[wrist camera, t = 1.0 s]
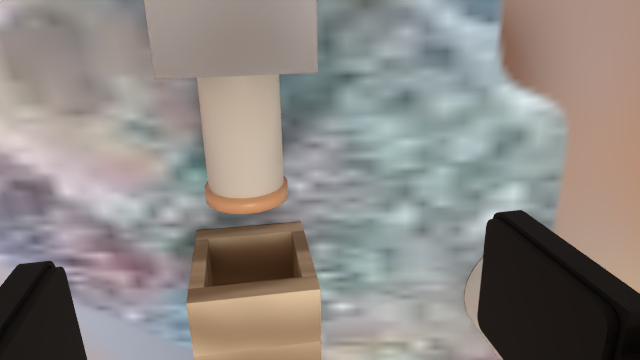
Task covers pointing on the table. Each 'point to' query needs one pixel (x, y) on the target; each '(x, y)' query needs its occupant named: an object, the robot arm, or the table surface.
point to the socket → (254, 295)
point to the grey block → (231, 37)
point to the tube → (242, 143)
